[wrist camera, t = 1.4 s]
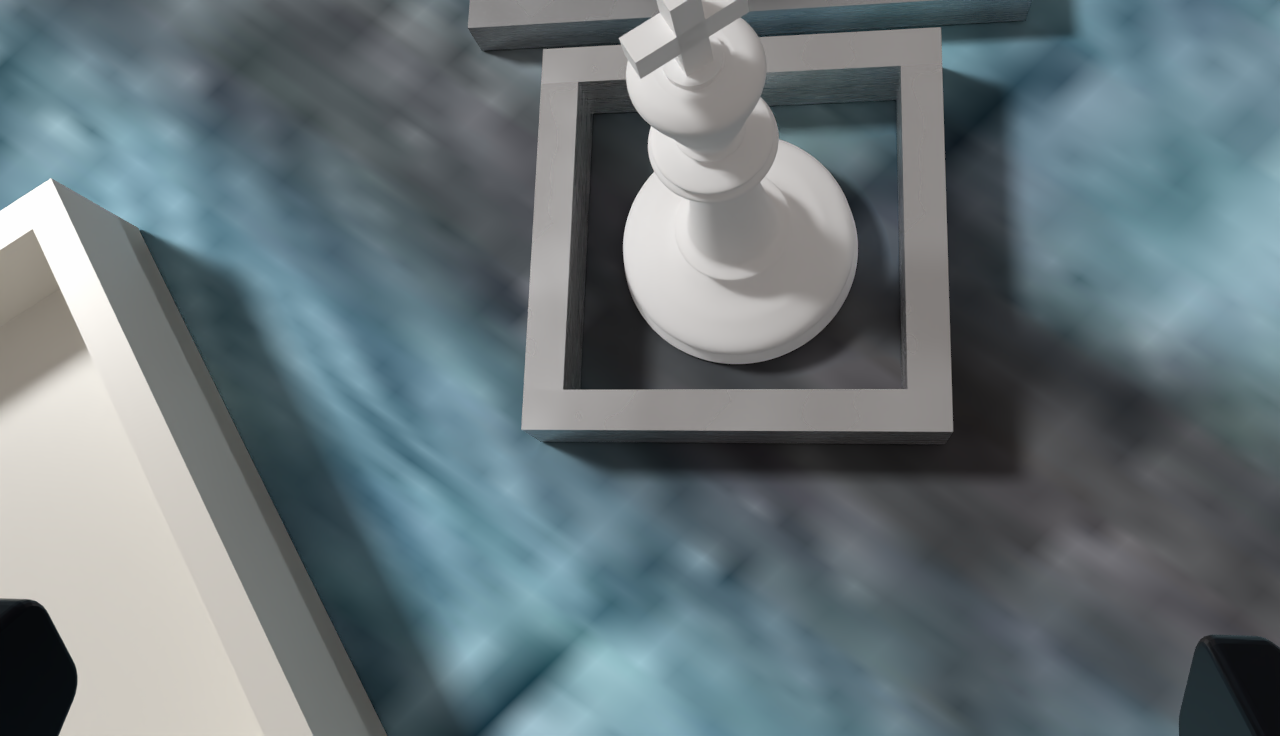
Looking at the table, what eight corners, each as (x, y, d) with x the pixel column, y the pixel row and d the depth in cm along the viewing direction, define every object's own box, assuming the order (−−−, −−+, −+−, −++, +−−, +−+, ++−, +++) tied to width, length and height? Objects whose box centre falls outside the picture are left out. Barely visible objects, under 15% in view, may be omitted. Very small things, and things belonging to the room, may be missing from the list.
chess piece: (905, 284, 22) (961, 30, 13) (699, 408, 23) (602, 250, 13) (777, 101, 24) (741, -250, 14) (583, 221, 24) (419, -48, 14)
